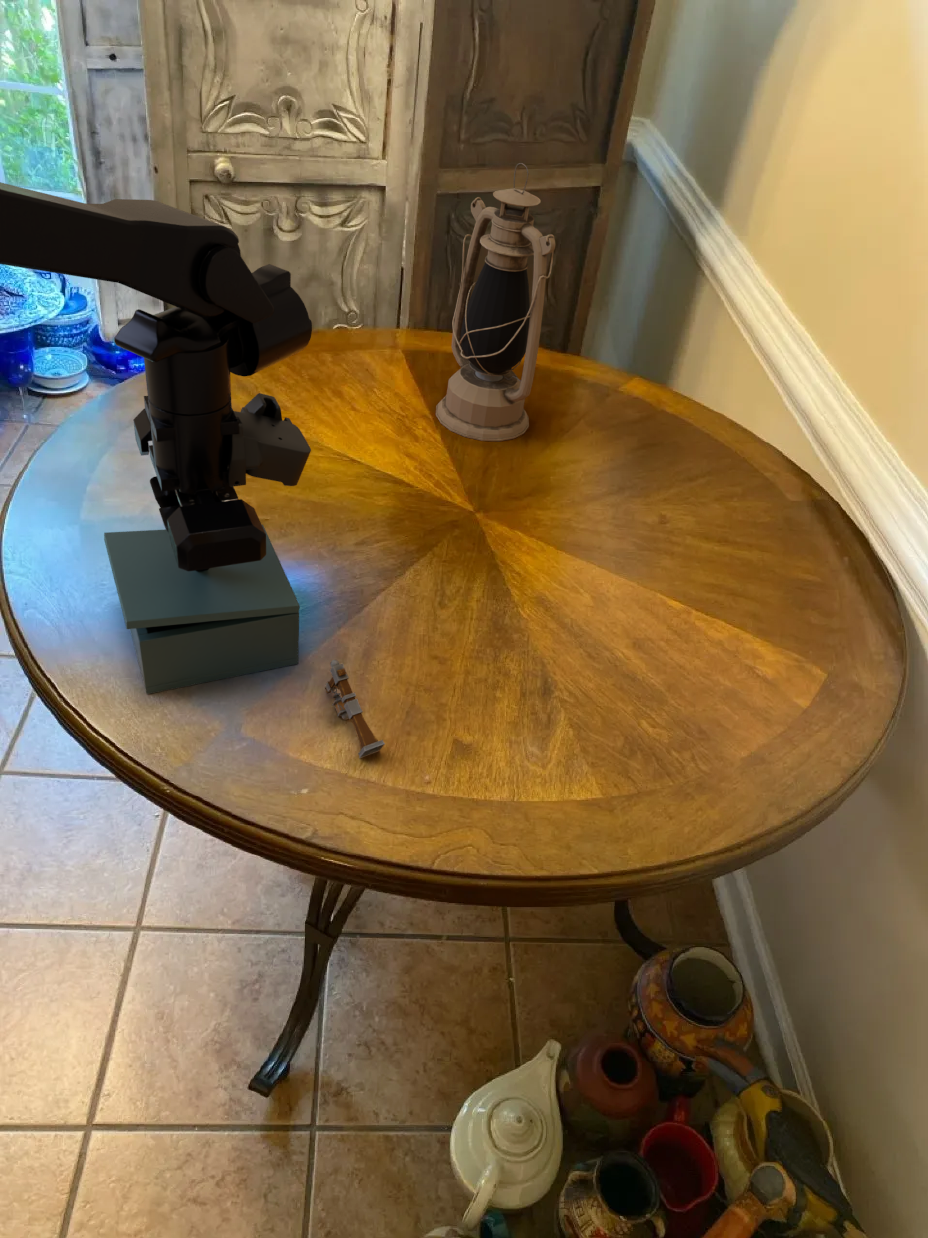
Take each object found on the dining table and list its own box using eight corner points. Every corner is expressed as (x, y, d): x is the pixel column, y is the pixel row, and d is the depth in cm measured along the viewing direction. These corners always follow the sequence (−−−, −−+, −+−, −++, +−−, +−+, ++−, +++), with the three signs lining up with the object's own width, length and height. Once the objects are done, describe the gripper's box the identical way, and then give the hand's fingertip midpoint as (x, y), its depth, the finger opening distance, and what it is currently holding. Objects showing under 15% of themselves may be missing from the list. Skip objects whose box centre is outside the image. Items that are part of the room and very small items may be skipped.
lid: (126, 629, 69) (126, 621, 68) (104, 540, 76) (104, 532, 76) (298, 612, 75) (300, 605, 74) (262, 531, 82) (263, 524, 82)
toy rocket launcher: (333, 674, 77) (345, 652, 73) (371, 760, 75) (386, 742, 71) (314, 681, 76) (325, 659, 72) (351, 768, 74) (365, 750, 70)
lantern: (410, 400, 117) (436, 145, 97) (481, 382, 123) (518, 140, 104) (482, 454, 109) (526, 189, 90) (554, 432, 116) (609, 180, 96)
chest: (146, 694, 74) (139, 641, 70) (123, 604, 81) (115, 552, 78) (298, 664, 79) (299, 613, 75) (263, 581, 86) (262, 531, 83)
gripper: (339, 451, 62) (331, 623, 72) (267, 332, 74) (268, 494, 84) (170, 470, 58) (187, 650, 68) (123, 340, 70) (143, 509, 80)
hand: (201, 568), depth 75 cm, fingers closed, pressing on lid
